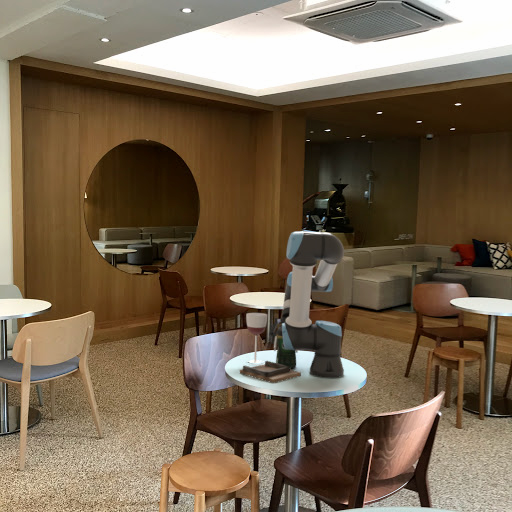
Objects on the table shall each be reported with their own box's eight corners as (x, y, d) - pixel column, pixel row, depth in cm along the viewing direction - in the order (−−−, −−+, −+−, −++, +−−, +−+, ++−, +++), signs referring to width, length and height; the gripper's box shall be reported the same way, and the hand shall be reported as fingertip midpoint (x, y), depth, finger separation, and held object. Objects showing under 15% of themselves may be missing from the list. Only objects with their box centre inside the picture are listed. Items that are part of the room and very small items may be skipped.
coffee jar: (295, 364, 268) (296, 326, 267) (296, 369, 260) (298, 329, 259) (274, 364, 268) (276, 325, 267) (275, 368, 260) (277, 328, 259)
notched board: (300, 375, 248) (301, 368, 248) (273, 383, 235) (273, 374, 235) (267, 366, 262) (267, 359, 262) (239, 373, 249) (240, 365, 249)
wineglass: (265, 364, 266) (267, 316, 265) (244, 363, 266) (246, 315, 265) (265, 360, 275) (267, 313, 274) (245, 359, 275) (246, 312, 274)
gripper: (313, 317, 276) (309, 356, 261) (268, 314, 279) (262, 353, 265) (313, 307, 270) (309, 347, 256) (267, 305, 274) (261, 344, 259)
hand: (285, 350), depth 260 cm, fingers closed on coffee jar, 9 cm apart
